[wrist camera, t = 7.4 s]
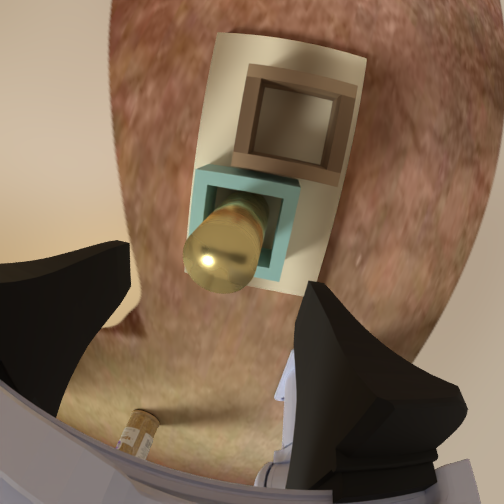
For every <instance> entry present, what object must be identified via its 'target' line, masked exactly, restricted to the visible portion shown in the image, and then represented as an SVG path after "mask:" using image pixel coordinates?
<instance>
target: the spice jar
mask: <svg viewBox="0 0 504 504" xmlns="http://www.w3.org/2000/svg"><path fill="white" fill-rule="evenodd" d="M159 425H160V423H159V421H158V420H157V418H155V417H154V416H153V415H151V414H149V413H148V412H145V411H142V410H134V411H132V413H131V417H130V419H129V422H128V423H127V426H126V428H125V429H124V431H123V433H122V435H121V438H120V440H119V442H118V444H117V446H116V449H118V450H120V451H123V452H125V453H128V454H130V455H133V456H135V457H138V458H141V459H144V460H146V458H147V455H148V452H149V450H150V447H151V445H152V442H153V438H154V435H155V433H156V430H157V428H158V427H159Z"/></svg>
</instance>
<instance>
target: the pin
mask: <svg viewBox="0 0 504 504" xmlns="http://www.w3.org/2000/svg"><path fill="white" fill-rule="evenodd" d="M268 219H269V206H268V203H267V201H266V200H265V198H264V197H263V196H262V195H261V194H258V193H252V192H247V191H241V190H237V191H235V192H233V193H232V194H230V195H229V196H228V197H227V198H226V199H225V200H224V201H223V202H222V203H221V204H220V205H219V206H218V207H217V208H216V209H215V210H214V211H213V212H212V213H211V214H210V215H209V216H208V217H207V218H206V219H205V220H204V221H203V222H202V223H201V224H200V225H199V226H198V227H197V228H196V229H195V230H194V232H193V233H192V234H191V235H190V236H189V237H188V239H187V240H186V242H185V245H184V249H183V262H184V265H185V268H186V270H187V272H188V274H189V275H190V277H191V278H192V279H193V280H194V281H195V282H196V283H197V284H198V285H199V286H201V287H202V288H204V289H206V290H208V291H211V292H215V293H222V294H225V293H233V292H236V291H238V290H241V289H242V288H244V287H245V286H246V285H248V284H249V282H250V281H251V280H252V278H253V277H254V275H255V272H256V269H257V265H258V260H259V256H260V252H261V248H262V244H263V240H264V236H265V232H266V227H267V223H268Z"/></svg>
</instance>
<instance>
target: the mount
mask: <svg viewBox="0 0 504 504" xmlns="http://www.w3.org/2000/svg"><path fill="white" fill-rule="evenodd" d="M265 87H266V88H272V89H278V90H284V91H289V92H295V93H300V94H304V95H309V96H313V97H318V98H322V99H326V100H330V101H333V102H332V108H331V113H330V118H329V124H328V129H327V134H326V139H325V144H324V149H323V154H322V158H321V163H320V165H319V164H315V163H310V162H306V161H301V160H297V159H292V158H287V157H282V156H277V155H271V154H266V153H260V152H255V151H254V145H255V139H256V134H257V128H258V122H259V117H260V111H261V106H262V100H263V95H264V89H265ZM357 88H358V86H357V85H354V84H350V83H347V82H343V81H340V80H336V79H332V78H328V77H324V76H320V75H315V74H311V73H306V72H301V71H296V70H291V69H285V68H279V67H273V66H266V65H259V64H251V63H249V65H248V71H247V76H246V81H245V87H244V92H243V97H242V103H241V109H240V114H239V120H238V126H237V132H236V138H235V144H234V150H233V156H232V163H231V166H236V167H242V168H248V169H254V170H259V171H265V172H270V173H275V174H280V175H285V176H290V177H295V178H300V179H304V180H309V181H313V182H318V183H322V184H326V185H330V186H335V187H338V183H339V179H340V175H341V170H342V166H343V161H344V157H345V152H346V147H347V142H348V138H349V133H350V127H351V122H352V117H353V112H354V106H355V100H356V94H357Z"/></svg>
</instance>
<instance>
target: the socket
mask: <svg viewBox="0 0 504 504" xmlns="http://www.w3.org/2000/svg"><path fill="white" fill-rule="evenodd" d="M217 186H218V187H224V188H230V189H236V190H241V191H247V192H252V193H258V194H263V195H268V196H273V197H278V198H282V201H281V206H280V211H279V216H278V221H277V225H276V230H275V235H274V240H273V245H272V249H267V248H261V252H260V256H259V260H258V265H257V269H256V272H255V275H254V277H256V278H261V279H266V280H271V281H277V282H279V281H280V277H281V273H282V269H283V265H284V260H285V256H286V252H287V248H288V243H289V239H290V235H291V230H292V226H293V222H294V217H295V213H296V208H297V204H298V199H299V195H300V190H301V187H300V183H299V180H297V179H292V178H287V177H282V176H277V175H272V174H267V173H262V172H256V171H250V170H245V169H239V168H233V167H226V166H220V165H213V164H207V165H205V166H202V167H200V168H197V169H195V178H194V186H193V195H192V204H191V214H190V225H189V236H190V235H191V234H192V233H193V232H194V230H195V229H196V228H197V227H198V226H199V225H200V224H201V223H202V222H203V221H204V220H205V219H206V218H207V217H208V216H209V215H210V214H211V213H212V212H213V211H214V209H215V201H216V194H217ZM189 236H188V237H189Z"/></svg>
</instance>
